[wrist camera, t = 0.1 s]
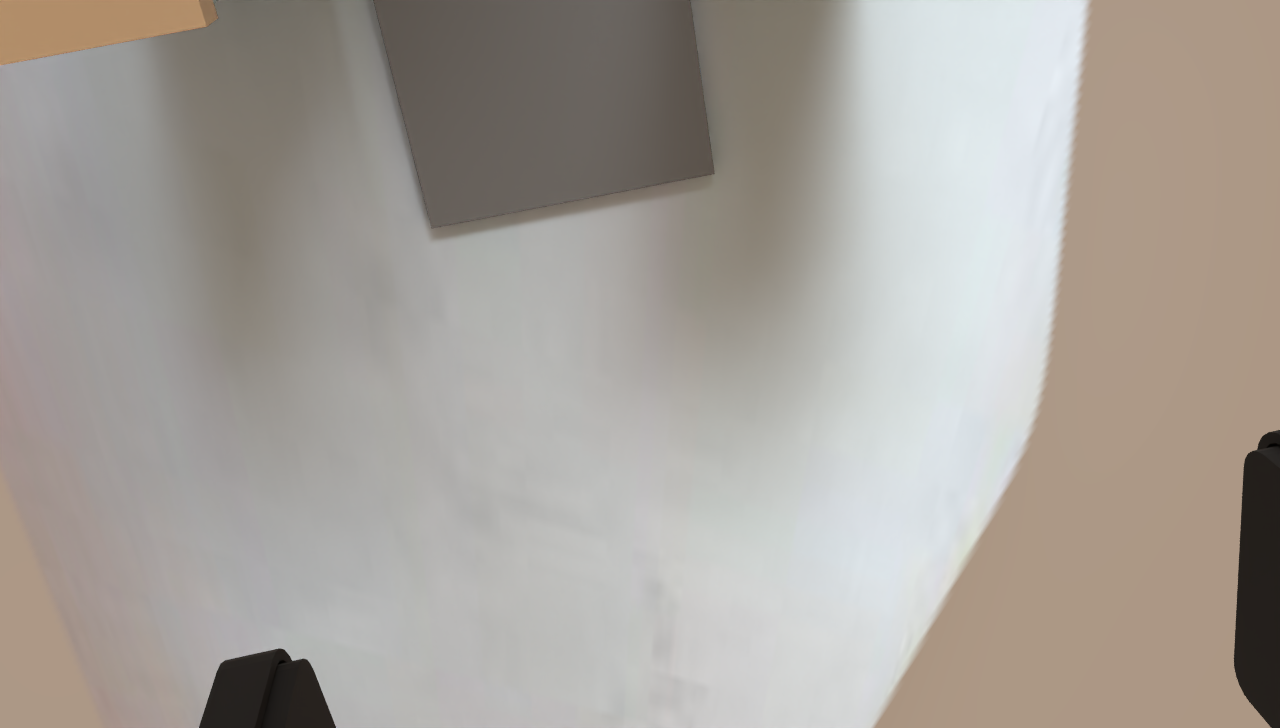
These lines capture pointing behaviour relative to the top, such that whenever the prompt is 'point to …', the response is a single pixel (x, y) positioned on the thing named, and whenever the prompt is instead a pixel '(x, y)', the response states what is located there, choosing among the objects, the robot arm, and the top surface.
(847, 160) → the top surface
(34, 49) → the canister
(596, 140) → the plate
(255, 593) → the top surface
